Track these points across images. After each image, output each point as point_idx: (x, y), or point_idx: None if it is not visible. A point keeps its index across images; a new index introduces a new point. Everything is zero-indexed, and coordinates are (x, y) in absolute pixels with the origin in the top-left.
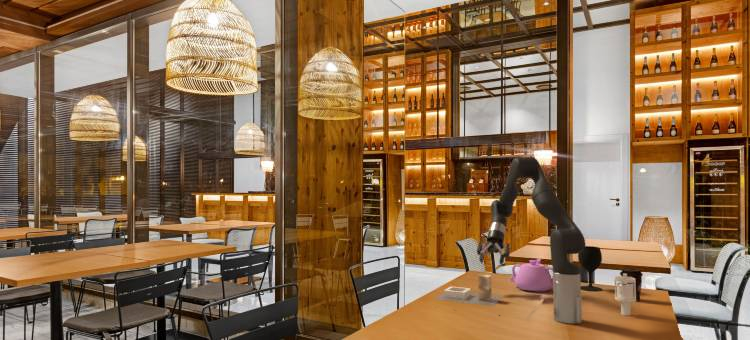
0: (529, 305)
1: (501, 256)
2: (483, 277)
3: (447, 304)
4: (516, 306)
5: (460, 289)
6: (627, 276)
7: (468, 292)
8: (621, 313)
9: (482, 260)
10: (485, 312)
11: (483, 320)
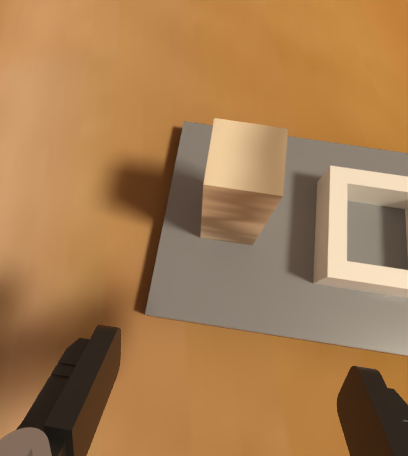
0: (24, 246)
1: (67, 393)
2: (249, 127)
3: None
4: (87, 210)
5: (381, 268)
6: None
7: (323, 234)
8: None
9: (350, 407)
10: (208, 91)
11: (204, 11)
